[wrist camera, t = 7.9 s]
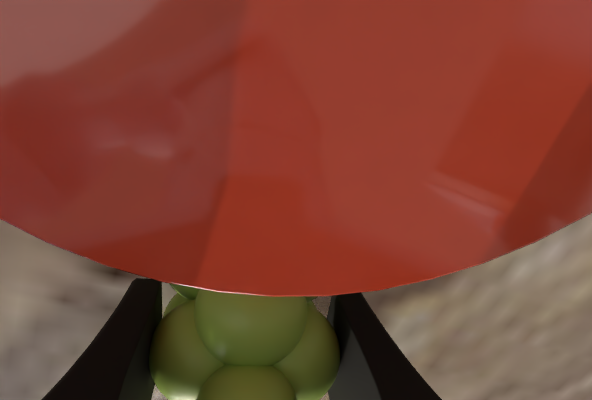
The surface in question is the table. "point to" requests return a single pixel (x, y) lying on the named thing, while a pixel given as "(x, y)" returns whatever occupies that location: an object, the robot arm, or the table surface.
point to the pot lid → (294, 136)
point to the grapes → (242, 348)
